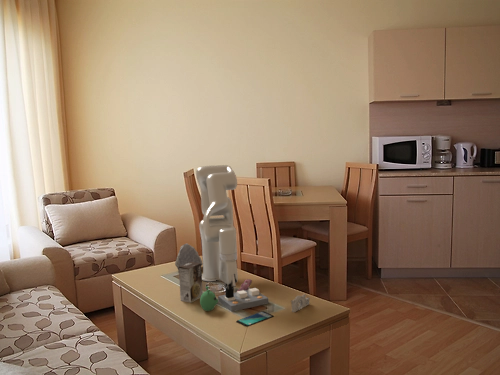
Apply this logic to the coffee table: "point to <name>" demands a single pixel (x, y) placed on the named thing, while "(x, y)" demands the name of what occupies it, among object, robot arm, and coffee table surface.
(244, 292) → the button middle
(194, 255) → the decorative rock
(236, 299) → the button board
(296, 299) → the garden wall model
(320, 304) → the coffee table surface
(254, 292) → the button
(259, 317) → the smartphone
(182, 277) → the coffee box
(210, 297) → the alien toy
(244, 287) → the pink curved piece
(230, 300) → the button
